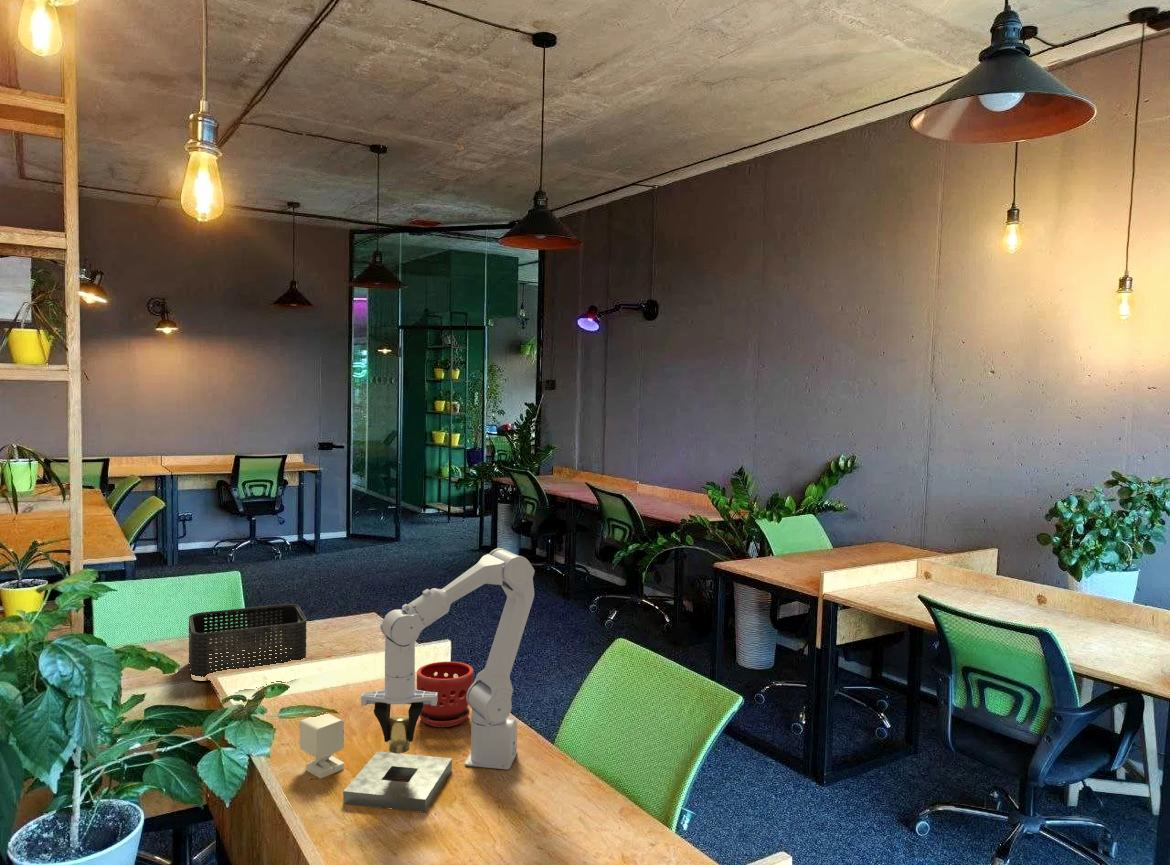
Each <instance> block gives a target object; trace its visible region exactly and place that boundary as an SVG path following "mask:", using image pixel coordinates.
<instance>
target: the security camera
mask: <svg viewBox="0 0 1170 865" xmlns="http://www.w3.org/2000/svg"><path fill="white" fill-rule="evenodd" d="M344 725H345V724H344V721H343V720H342V719H340V718H337V716H334V715H332V714H330V713H328V714H324V715H320V716H317V717H311V716H309V717H306V718H304V719H301V720H300V722H299V749H300V750H301V751H303V752H305V753H307V754H308V755H310V756H312V757H314V758H315V759H314V760H311V761H309V762H306V763H305V770H306V771H307V772H309V773H310V774H312V775H313V776H315V777H317V778H318V779H323V778H327V777H329V776H331V775H333V774H335V773H337V772H341V771H343V770H344V769H345V768H344V767H345V762H343V761H342V760H340V759H339V758H336V757H335V756H333V755H334V754H335V753H338V752H340V751H342V750H343V749H344V743H345V742H344V741H345V740H344V739H345V738H344V736H345V735H344V733H345V732H344V731H345V729H344V727H345V726H344Z"/></svg>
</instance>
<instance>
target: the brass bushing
mask: <svg viewBox="0 0 1170 865" xmlns="http://www.w3.org/2000/svg"><path fill="white" fill-rule="evenodd" d="M408 737H409V715H407V714H397V715H394V716H390V719H389V741H388V752H389V753H397V754H399V753H400V754H405V753H406V752H408V751H410V749H411V744H410V743H411V742H409V739H408Z"/></svg>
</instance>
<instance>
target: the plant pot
mask: <svg viewBox="0 0 1170 865" xmlns="http://www.w3.org/2000/svg"><path fill="white" fill-rule="evenodd" d="M435 673H437V674H436V675H435ZM445 674H447V676H445ZM454 675H457V677H454ZM473 683H474V668H473V667H472V666H471V665H470V664H466V663H464V662H459V661H438V662H437V661H436V662H432V663H428V664H427V663H426V664H424V665H422V666H421V667H419V668H418V669H417V672H416V690H420V691H427V692H438V702H437V705H436V706H431V704H424V706H423V709H422V712H421V714H420V716H419V719H420V720H421V721H422V722H423V723H424V724H426V725H428V726H431V727H437V728H444V727H447V728H449V727H453V726H457V725H461V723H464V722H465V721H466V720H468V717H469V716H470V713H471V711H470V708H469V705H468V703H467V699H466V696H467V692H468V689H469V688H470V686H471V685H472V684H473Z"/></svg>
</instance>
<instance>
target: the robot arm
mask: <svg viewBox="0 0 1170 865" xmlns="http://www.w3.org/2000/svg"><path fill="white" fill-rule="evenodd" d="M535 571H536V570H535V569H534V567H533V565H532V563H531V562H530V560H528V558H526V557H524V556H522V555H518V554H515V553H513V552H511V551H509V550H507V549H506V548H502V547H497V548H495V549H493V550H491V551H490V552H489V553H486V554H484V555H483V556H482V557H481V558H480V559H479V560H478V562H477V563H476V564H475V565H472V566H471V567H470V568H468V569H467V570H466V571H464V572H463V573H461V575H459V576H458V577H457V578H455V579H454V580H453V581H450V583H447V585H446V586H444V587H443V588H435V587H433V588H431V589H429V588H426V589H424V590H422V594H421V595H420V596H419V597H416V598H415V599H414V600H412V601H411V602H409V603H408V604H407V603H404V604H403V605H402V606H401V609H393V610H390V611H389V612H388V613H387V614H385V616H384V618H383V620H382V622H381V623H380V625H379V627H380V631H381V633H382V634H383V635H384V636H385V638H384V640H385V641H384V643H385V644H384V646H385V648H384V689H382V690H375V691H363V692H362V694H361V696H360V706H362V707H364V706H367V705H374V709H373V714H374V715H375V718H376V719H377V720H378V722H379V725H380V728H381V731H382V734H383V738H384V739H383V740H384V743H389V719H390V718H391V707H392V706H391V705H410V706H409V708H408V716H409V737H408V739H409V742H410V743H411V742H412V743H413V741H414V738H415V730H416V726H417V722H418V721H419V719H420V714H421V712H422V709H423V706H424V704H431V706H436V705H437V702H438V692H427V691H420V690H417V689H415V686H416V685H415V680H416V679H415V678H416V675H415V674H416V668H415V664H416V662H415V661H416V656H415V655H416V648H415V646H416V641H417V640H418V638H419V637H420V634H421V632H422V631H424V629H425V628H427V627H428V626H430V625H432V624H433V623H434V622H437V621H438V620H439V619H440V618H442V617H443V616H445V615H446V614H448V613H449V611H450V608H451V605H452V603H455V602H456V601H458V600H459V599H461V598H463V597H464V596H467V595H468V594H470V593H471V592H472V591H474V590H476V589H478V588H480V587H482V586H484V585H494V586H495V585H496V586H501V588H502V590H503V591H504V593H505V595H506V601H505V604H504V607H503V608H502V609H503V610H502V614H501V616H500V620H499V622H498V626H497V628H496V633H495V634H494V638H493V642H492V645H491V648H490V651H489V653H488V654H489V655H488V657H487V660H486V665H485V667H484V669H482V670H481V671H479V672H478V673H477V674H476V676H475V679H474V680H473V684H472V685H471V686H470V688H469V689H468V692H467V696H466V699H467V703H468V707H470V708H471V717H470V718H471V720H470V721H471V722H470V724H471V726H470V737H471V738H470V752H469V755H468V757H467V758H466V760H465V762H464V766H467V767H475V768H476V767H477V768H487V769H488V768H489V769H498V770H505V771H506V770H509V769H510V768H511V767H512V764H513V762H514V760H515V758H516V756H517V754H518V749H517V748H518V744H517V743H518V722H517V720H516V719H514V718H510V717H509V716H510V714H511V712H512V709H513V708H512V707H513V705H512V697H513V692H514V688H513V685H512V681H511V678H510V677H511V673H512V670H513V667H514V663H515V660H516V656H517V654H518V650H519V648H520V644H521V641H522V637H523V634H524V631H525V627H526V624H527V621H528V618H529V614H530V610H531V608H532V604H533V601H534V599H535V587H534V579H533V578H534V576H535Z"/></svg>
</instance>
